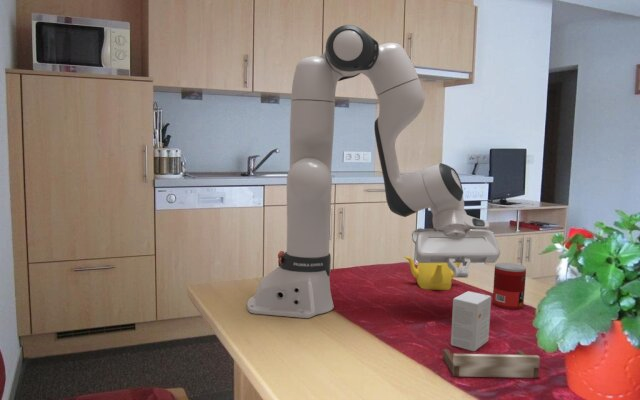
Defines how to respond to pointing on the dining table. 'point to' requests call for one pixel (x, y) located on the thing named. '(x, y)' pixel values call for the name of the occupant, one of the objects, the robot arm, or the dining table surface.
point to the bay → (492, 365)
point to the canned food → (509, 285)
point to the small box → (470, 320)
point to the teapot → (432, 275)
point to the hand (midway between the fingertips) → (461, 276)
